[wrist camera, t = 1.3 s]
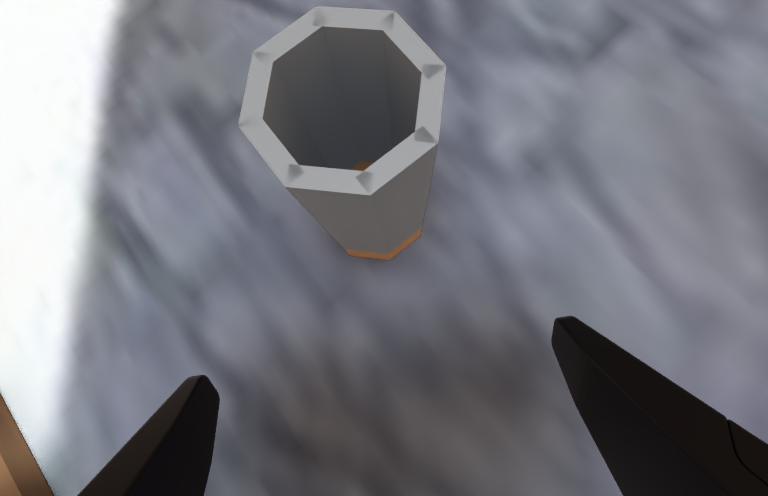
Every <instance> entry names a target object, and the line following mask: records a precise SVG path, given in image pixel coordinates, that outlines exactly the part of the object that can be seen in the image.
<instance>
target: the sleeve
mask: <svg viewBox="0 0 768 496" xmlns="http://www.w3.org/2000/svg"><path fill="white" fill-rule="evenodd" d="M445 72H446V65H445V64H444V63H443V62H442V61H441V60H440V59H439V58H438V57H437V55H436V54H435V53H434V52H433V51H432V50H431V49H430V48H429V47H428V46H427V45H426V44H425V43H424V42H423V41H422V40H421V38H420V37H419V36H418V35H417V34H416V33H415V32H414V31H413V30H412V29H411V28H410V27H409V26H408V25H407V24H406V23H405V21H404V20H403V19H402V18H401V17H400V16H399V15H398V14H397V13H396V12H395V11H387V10H371V9H354V8H338V7H321V6H316V7H315V8H313V9H312V10H311V11H309V12H308V13H306V14H305V15H304V16H302V17H301V18H299V19H298V20H297V21H295V22H294V23H292V24H291V25H290V26H288V27H287V28H286V29H284V30H283V31H281V32H280V33H279V34H277V35H276V36H274V37H273V38H272V39H270V40H269V41H267V42H266V43H265V44H263V45H262V46H261V47H259V48H258V49H256V50H255V51H254V52H253V54H252V59H251V64H250V69H249V74H248V79H247V84H246V89H245V94H244V99H243V104H242V109H241V114H240V119H239V124H238V126H239V127H240V129H241V130H242V131H243V133H244V134H245V135H246V136H247V138H248V139H249V140H250V142H251V143H252V144H253V146H254V147H255V148H256V149H257V151H258V152H259V153H260V155H261V156H262V157H263V159H264V160H265V161H266V162H267V164H268V165H269V166H270V168H271V169H272V170H273V172H274V173H275V174H276V175H277V177H278V178H279V179H280V181H281V182H282V183H283V185H284V186H285V187H286V188H287V189H288V191H289V192H290V193H291V194H292V195H293V196H294V197H295V198H296V199H297V200H298V201H299V202H300V203H301V204H302V205H303V206H304V207H305V208H306V210H307V211H308V212H309V213H310V214H311V215H312V216H313V217H314V218H315V219H316V220H317V221H318V222H319V223H320V224H321V225H322V226H323V227H324V229H325V230H326V231H327V232H328V233H329V234H330V235H331V236H332V237H333V238H334V239H335V240H336V241H337V242H338V243H339V244H340V245H341V246H342V247H343V249H344V250H345V251H346V252H347V253H348V254H349V255H350V256H357V257H365V258H374V259H383V260H390V259H392V258H393V257H394V256H396V255H397V254H398V253H399V252H401V251H402V250H403V249H404V248H406V247H407V246H408V245H410V244H411V243H412V242H413V241H415V240H416V239H417V238H418V237H420V236H421V231H422V226H423V221H424V215H425V210H426V205H427V200H428V194H429V189H430V184H431V179H432V174H433V168H434V163H435V158H436V153H437V147H438V140H439V130H440V120H441V111H442V101H443V91H444V82H445Z"/></svg>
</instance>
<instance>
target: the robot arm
mask: <svg viewBox="0 0 768 496" xmlns="http://www.w3.org/2000/svg"><path fill="white" fill-rule="evenodd" d="M551 341H552V347H553V350H554V353H555V355H556V358H557V360H558V363H559V365H560V368H561V370H562V373H563V375H564V378H565V380H566V383H567V385H568V388H569V390H570V393H571V395H572V398H573V400H574V402H575V405H576V407H577V409H578V411H579V413H580V415H581V417H582V419H583V421H584V423H585V424H586V426H587V428H588V430H589V432H590V434H591V436H592V438H593V440H594V441H595V443H596V445H597V447H598V449H599V451H600V453H601V455H602V457H603V458H604V460H605V462H606V464H607V466H608V468H609V470H610V472H611V474H612V475H613V477H614V479H615V481H616V483H617V485H618V487H619V489H620V491H621V492H622V494H623V496H768V444H767V443H765V442H764V441H762V440H761V439H759V438H757V437H756V436H754V435H753V434H751V433H750V432H748V431H747V430H745V429H744V428H742V427H741V426H739V425H738V424H736V423H735V422H733V421H732V420H727V419H726V417H725V416H724V415H722V414H721V413H719V412H718V411H716V410H715V409H713V408H712V407H710V406H709V405H707V404H706V403H704V402H703V401H701V400H700V399H698V398H697V397H695V396H693V395H692V394H690V393H689V392H687V391H686V390H684V389H683V388H681V387H680V386H678V385H677V384H675V383H674V382H672V381H671V380H669V379H668V378H666V377H665V376H663V375H662V374H660V373H659V372H657V371H656V370H654V369H653V368H651V367H650V366H648V365H647V364H645V363H644V362H642V361H641V360H639V359H638V358H636V357H635V356H633V355H631V354H630V353H628V352H627V351H625V350H624V349H622V348H621V347H619V346H618V345H616V344H615V343H613V342H612V341H610V340H609V339H607V338H606V337H604V336H603V335H601V334H600V333H598V332H597V331H595V330H594V329H592V328H591V327H589V326H588V325H586V324H585V323H583V322H582V321H580V320H579V319H577V318H575V317H573V316H565V317H559V318H556V319H555V321H554V326H553V333H552V340H551ZM219 402H220V398H219V394H218V392H217V390H216V389H215V387H214V386H213V384H212V383H211V381H210V380H209V378H208V377H207V376H205V375H198V376H192V377H189V378H187V379H186V380H185V381H184V382H183V383H182V384H181V385H180V386H179V387H178V389H177V390H176V391H175V392H174V393H173V394H172V395H171V396H170V397H169V398H168V399H167V400H166V401H165V402H164V403H163V405H162V406H161V407H160V408H159V409H158V410H157V411H156V412H155V413H154V414H153V415H152V416H151V417H150V418H149V419H148V421H147V422H146V423H145V424H144V425H143V426H142V427H141V428H140V429H139V430H138V431H137V432H136V433H135V434H134V436H133V437H132V438H131V439H130V440H129V441H128V442H127V443H126V444H125V445H124V446H123V447H122V448H121V449H120V450H119V452H118V453H117V454H116V455H115V456H114V457H113V458H112V459H111V460H110V461H109V462H108V463H107V464H106V465H105V467H104V468H103V469H102V470H101V471H100V472H99V473H98V474H97V475H96V476H95V477H94V478H93V479H92V480H91V481H90V483H89V484H88V485H87V486H86V487H85V488H84V489H83V490H82V491H81V492H80V493H79V494H78V495H77V496H204V492H205V488H206V484H207V480H208V475H209V471H210V466H211V462H212V455H213V449H214V441H215V433H216V426H217V418H218V410H219Z"/></svg>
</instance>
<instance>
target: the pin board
mask: <svg viewBox="0 0 768 496" xmlns="http://www.w3.org/2000/svg"><path fill="white" fill-rule="evenodd" d="M0 496H53V494H52V492H51V490H50V488H49V486H48V484H47V482H46V480H45V479H44V477H43V475H42V473H41V471H40V469H39V467H38V465H37V463H36V461H35V459H34V458H33V456H32V454H31V452H30V450H29V448H28V446H27V444H26V442H25V440H24V439H23V437H22V435H21V433H20V431H19V429H18V427H17V425H16V423H15V421H14V420H13V418H12V416H11V414H10V412H9V410H8V408H7V406H6V404H5V402H4V400H3V399H2V397H1V395H0Z"/></svg>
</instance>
